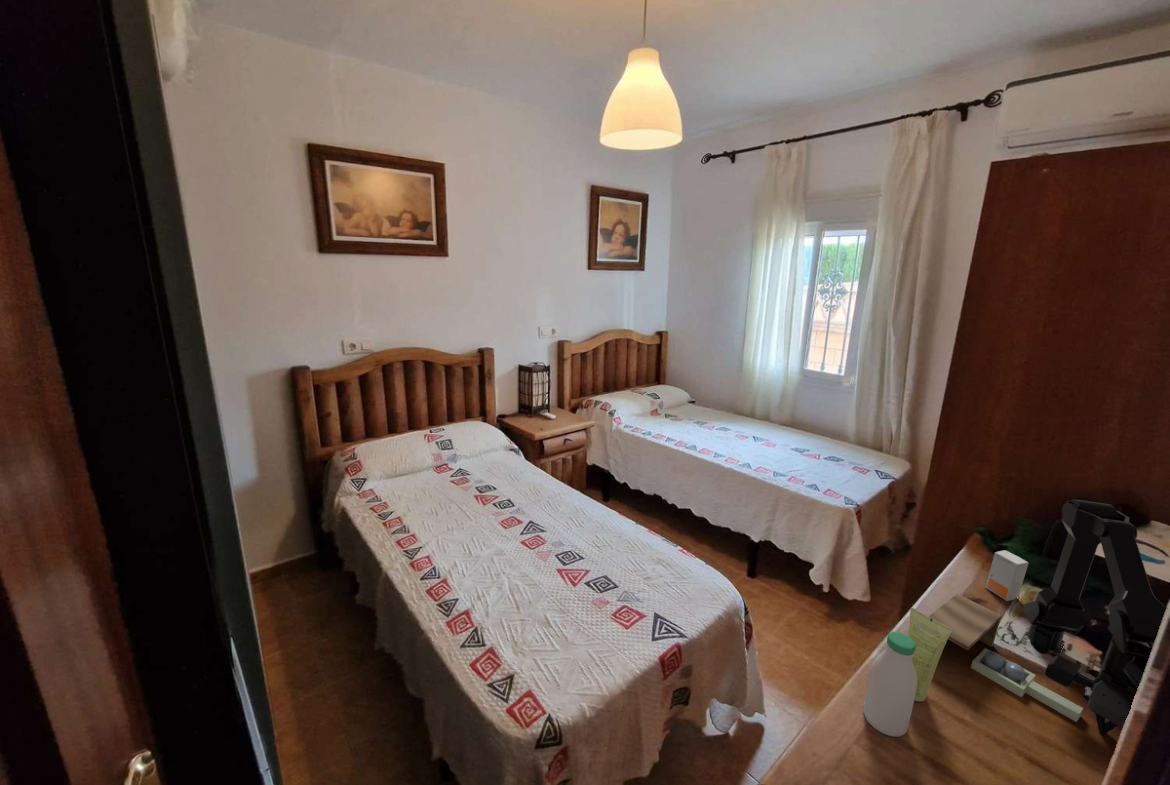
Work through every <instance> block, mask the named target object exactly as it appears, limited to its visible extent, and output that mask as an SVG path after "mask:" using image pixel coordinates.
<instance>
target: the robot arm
mask: <svg viewBox="0 0 1170 785" xmlns="http://www.w3.org/2000/svg"><path fill="white" fill-rule="evenodd" d="M1061 514H1062V516H1061V522H1062V523H1063V525H1064V528H1065V529H1066V531H1067V535H1066V538H1065V542H1064V544H1063V548H1062V550H1061V553H1060V554H1061V555H1060V556H1059V560H1058V562H1057V563H1058V564H1057V567H1056V569H1055V571H1054V572H1055V573H1054V576H1053V578H1052V582H1051V584H1050V586H1047V587H1046V588H1044V589H1041V591H1039V592H1038V593H1037V595H1036V597H1035V599H1034V600H1033V601H1029V602H1026V603H1024V604H1023V609H1022V610H1023V611H1022V612H1023V614H1024V615H1025V617H1026V618H1027V620H1028V622H1029V623H1030V626H1029V630H1028V631H1027V632H1026V633H1025V634H1024V636H1027V638H1028V639H1029V640H1030V641H1029V643H1030V645H1031V646H1034V647H1036V648H1038V649H1040V650H1042V651H1044V652H1049V651H1054V652H1055V651H1056V652H1059V653H1060V652H1061V653H1062V651H1063V650H1062V648H1063V646H1065V645H1064V644H1063V643H1062V642H1063V639H1064V635H1065V632H1066V633H1070V634H1073V635H1078V633H1079V632H1080V631H1081V630H1082V629H1083V628H1084V627H1085V625H1086V619H1087V617H1088V615H1089V614H1088V612H1087V611H1086V610H1085V608H1084V605H1083V603H1082V602H1081V596H1082V592H1083V590H1084V587H1085V585H1086V584H1085V583H1086V581H1087V578H1088V575H1089V572H1090V569H1091V566H1092V564H1093V561H1094V558H1095V554H1096V553H1097V549H1098V546H1099V545H1100V544H1101V548H1102V552H1103V554H1104V556H1103V557H1104V559H1105V564H1106V566H1107V570H1108V574H1109V578H1110V580H1111V585H1112V589H1113V593H1114V596H1113V598H1112V599H1111V601H1109V603H1108V611H1109V613H1108V623H1109V625H1108V626H1107V629H1108V631H1109V632H1110V633H1111V634H1112V637H1111V639H1110V642H1109V645H1108V648H1107V651H1106V652H1105V656H1104V659H1103V660H1102V661H1103V662H1102V664H1101V667H1100V670H1099V672H1098V675H1097V677H1095V678H1094V679H1093V678H1091V677H1089V676H1087V675H1085V674H1084V673H1081V671H1082V665H1079V664H1077V663H1075V662H1073V661H1072V660H1070V659H1067V658H1065V657H1064V656H1062V655H1055V656H1053V657H1052V659H1051V660H1050V661H1049V663H1048V664H1047V666H1046V667H1045V671H1044V675H1045V677H1046V678H1049V679H1050V680H1052V681H1054V682H1056V683H1058V684H1059V685H1062V686H1063V687H1071V686H1072V685H1073V682H1075V683H1077V684H1079V685H1080V686H1083V687H1085V688H1084V690H1085V691H1084V693H1083V695H1082V699H1083V700H1084V701H1085V702H1087V708H1088V709H1089V710H1090V711H1091V712H1093V713H1094V715H1095V719H1096V723H1097V724H1096V725H1097V730H1098V732H1099V733H1101V734H1103V735H1106V734H1107V733H1109V732H1111V731H1112V730H1114V729H1115V728H1117V727H1119V726H1121V727H1123V726H1124V723H1125V720H1126V718H1127V716H1128V714H1129V711H1130V709H1131V705H1132V702H1133V699H1134V696H1135V694H1136V691H1137V688H1138V686H1139V683H1140V680H1141V677H1142V675H1143V672H1144V669H1145V666H1146V663H1147V661H1148V658H1149V655H1150V652H1151V649H1152V648H1153V647H1150V645H1153V643H1154V640H1155V638H1156V635H1157V632H1158V629H1159V626H1160V623H1161V620H1162V617H1163V615H1164V612H1165V609H1166V608H1167V606H1166V605H1164V604H1163V603H1162V602H1160V600H1159V599H1158V598H1157V597H1156V596H1155V595H1154V592H1153V590H1152V588H1151V584H1150V581H1149V577H1148V574H1147V572H1146V568H1145V565H1144V564H1145V563H1144V561H1143V559H1142V555H1141V551H1140V549H1139V545H1138V543H1137V537H1138V531H1137V530H1138V529H1137V527H1136V526H1135V524H1133V523H1132V522H1130V517H1129V516H1127V515H1125V514H1124V513H1122V512H1121V511H1118V510H1117V509H1116V508H1115V506H1113V504H1111V503H1110V504H1109V503H1102V502H1096V501H1088V500H1083V499H1075V498H1074V499H1073V498H1072V499H1070V500H1067V501H1066V502H1065V503H1063V505H1062V508H1061ZM1061 644H1062V645H1063V646H1061ZM1149 644H1150V645H1149ZM1061 647H1062V648H1061ZM1061 650H1062V651H1061Z"/></svg>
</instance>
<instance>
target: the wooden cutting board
mask: <svg viewBox="0 0 1170 785" xmlns="http://www.w3.org/2000/svg"><path fill="white" fill-rule="evenodd" d="M928 616H929V617H930V618H932V619H934V620H936V621H938V622H940V623H942V624H944V625H945V626H947V627H949V628H951V629H953V630H952V633H951V634H950V636H949V638H948V640H949V641H951V643H954V644H955V645H958V646H959V647H961V648H962V649H964V650H966V651H969V650H970V649H971V648H972V647H973V646H974V645H975V644H976V643H977V642H978V641H979V642H982V643H983V644H986V645H987V646H988V647H991V648H992V647H993V646H994V643H995V639H996V636H997V632H998V630H999V625H1000V622H1001V619H1002V615H1001V614H999V613H997V612H996V611H993V610H992V609H989V608H987V607H986V606H983V605H981V604H979V603H977V602H975V601H974V600H971V599H968V598H967V597H965V596H962V595H960V594H958V593H956V594H955V595H954V596H952V597H951V598H950V599H948V600H947V601H945V603H943V604H942V605H941V606H939V608H937V609H936V610H935V611H933V612H931V614H930V615H928ZM948 640H947V641H948Z"/></svg>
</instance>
